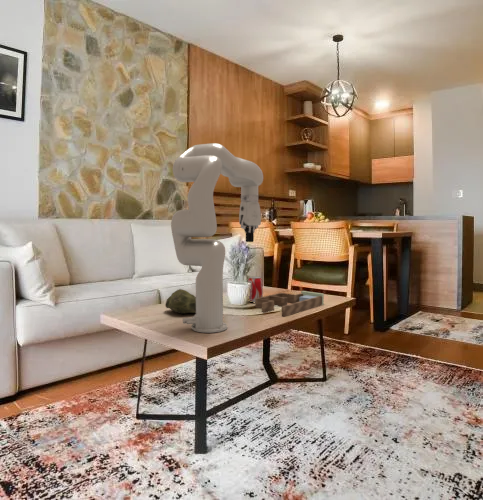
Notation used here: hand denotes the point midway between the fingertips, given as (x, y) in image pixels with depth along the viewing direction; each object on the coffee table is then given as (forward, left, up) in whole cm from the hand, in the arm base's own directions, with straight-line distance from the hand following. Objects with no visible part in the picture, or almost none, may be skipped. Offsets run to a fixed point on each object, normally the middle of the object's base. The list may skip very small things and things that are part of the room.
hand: (249, 241), depth 174 cm
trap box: (+16, -4, -29) cm, 33 cm away
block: (+27, -1, -29) cm, 40 cm away
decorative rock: (-29, -5, -29) cm, 42 cm away
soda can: (+5, +10, -29) cm, 31 cm away
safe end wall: (+31, +2, -29) cm, 42 cm away
